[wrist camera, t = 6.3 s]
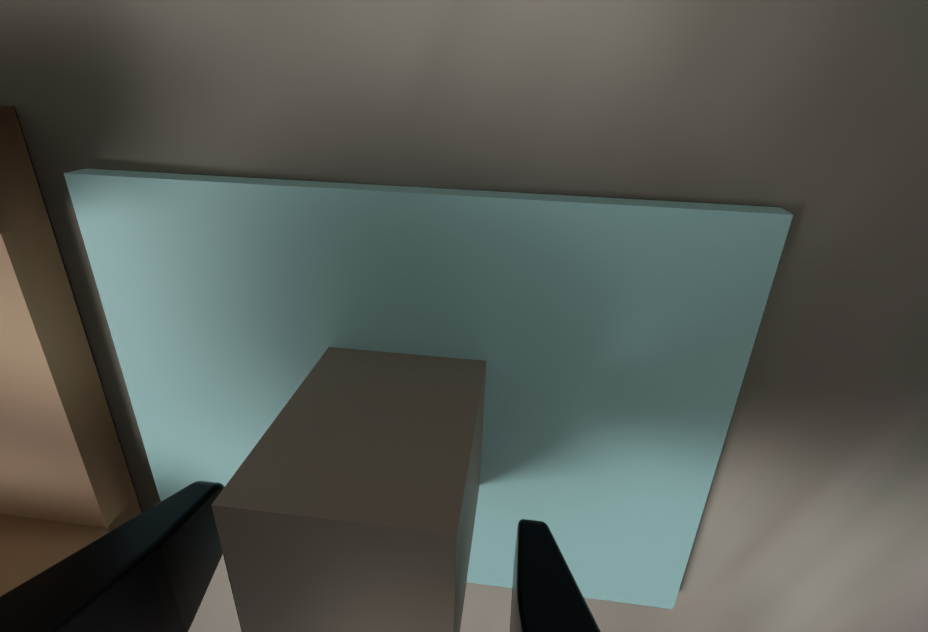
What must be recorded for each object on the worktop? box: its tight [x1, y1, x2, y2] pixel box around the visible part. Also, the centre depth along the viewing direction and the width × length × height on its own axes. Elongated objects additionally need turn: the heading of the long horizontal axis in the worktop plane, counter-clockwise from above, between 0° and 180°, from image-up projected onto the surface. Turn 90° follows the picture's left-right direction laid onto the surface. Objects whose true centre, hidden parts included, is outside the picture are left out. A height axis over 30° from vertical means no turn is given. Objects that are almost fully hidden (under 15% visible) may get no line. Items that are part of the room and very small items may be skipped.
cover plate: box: [64, 169, 793, 632], centre depth 9 cm, size 9×12×5 cm
